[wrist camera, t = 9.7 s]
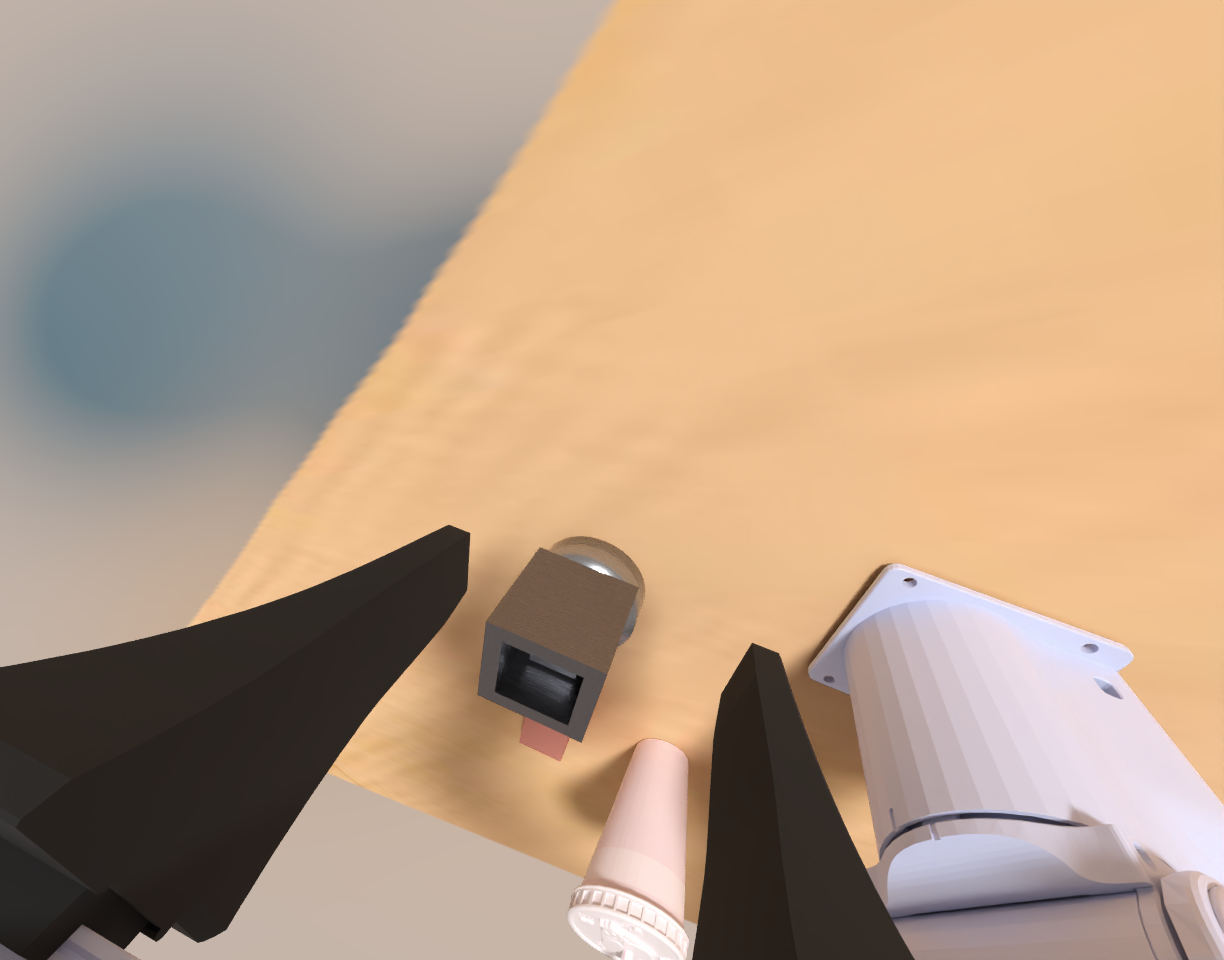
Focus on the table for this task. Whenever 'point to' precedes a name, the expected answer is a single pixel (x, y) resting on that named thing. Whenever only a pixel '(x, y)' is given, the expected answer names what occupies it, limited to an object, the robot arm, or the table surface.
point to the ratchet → (623, 569)
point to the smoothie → (639, 863)
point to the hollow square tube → (554, 641)
